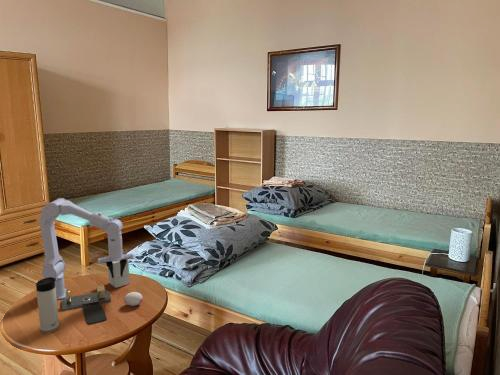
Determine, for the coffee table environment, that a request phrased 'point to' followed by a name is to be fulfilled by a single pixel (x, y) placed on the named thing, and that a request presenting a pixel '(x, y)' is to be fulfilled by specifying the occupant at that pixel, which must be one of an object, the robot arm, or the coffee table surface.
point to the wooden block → (101, 292)
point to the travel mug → (47, 305)
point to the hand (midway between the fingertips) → (117, 276)
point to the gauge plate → (83, 300)
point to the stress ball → (133, 299)
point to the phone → (94, 314)
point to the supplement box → (117, 279)
